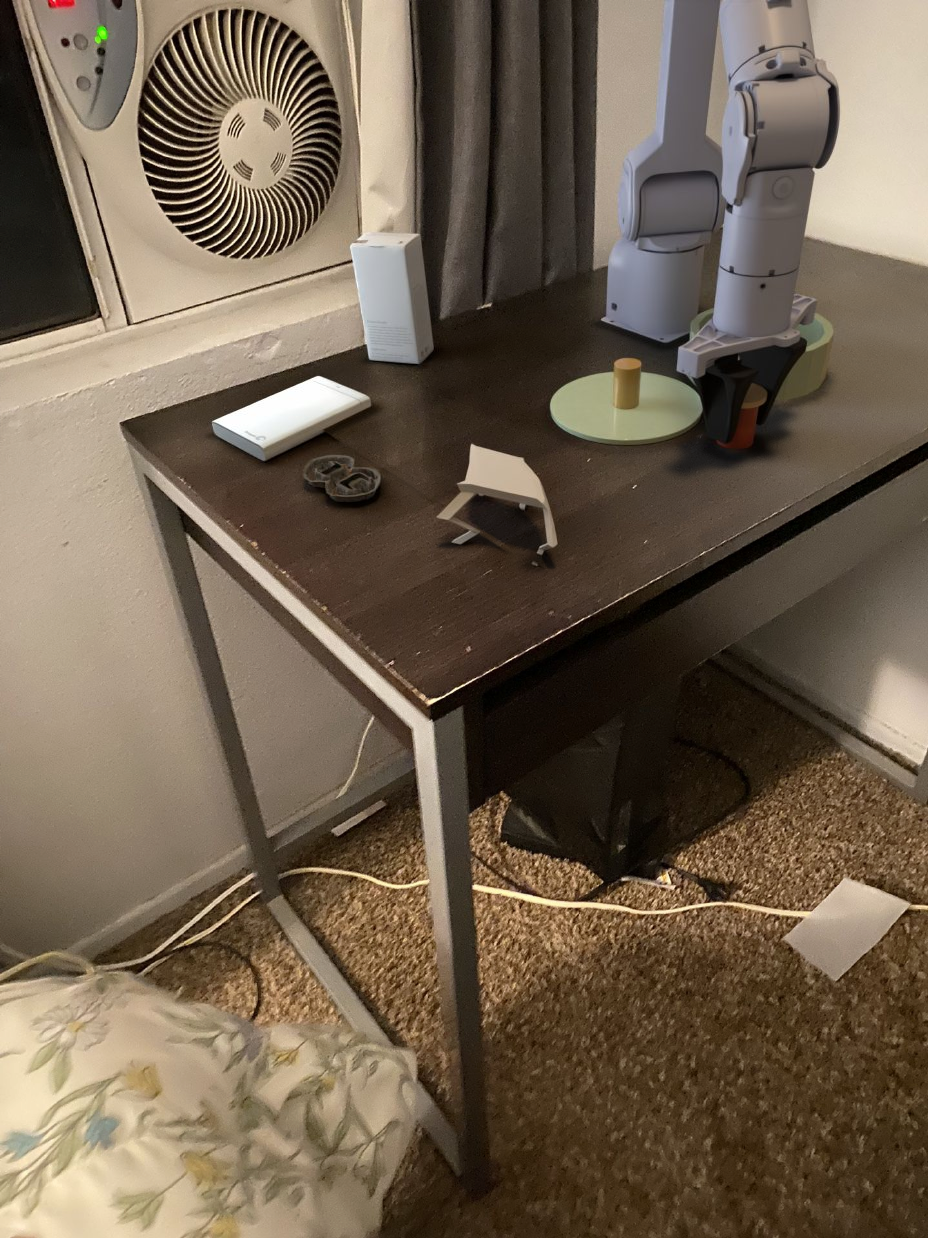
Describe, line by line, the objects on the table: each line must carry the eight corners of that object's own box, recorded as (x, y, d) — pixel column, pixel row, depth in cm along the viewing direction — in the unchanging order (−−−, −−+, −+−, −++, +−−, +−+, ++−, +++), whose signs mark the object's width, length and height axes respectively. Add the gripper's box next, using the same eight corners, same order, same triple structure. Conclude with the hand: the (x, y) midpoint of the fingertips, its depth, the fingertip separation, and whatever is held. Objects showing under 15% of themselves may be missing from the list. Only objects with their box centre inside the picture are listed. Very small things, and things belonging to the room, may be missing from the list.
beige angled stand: (412, 530, 70) (405, 475, 67) (486, 486, 74) (483, 432, 71) (529, 592, 63) (528, 533, 60) (603, 539, 67) (606, 481, 64)
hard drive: (262, 446, 78) (370, 395, 85) (210, 419, 83) (316, 372, 90) (266, 463, 80) (372, 411, 86) (214, 435, 84) (319, 388, 91)
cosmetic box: (435, 349, 96) (424, 231, 88) (419, 367, 93) (407, 245, 85) (382, 345, 98) (367, 228, 90) (365, 362, 95) (348, 242, 87)
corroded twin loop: (336, 457, 79) (335, 447, 78) (396, 488, 74) (395, 477, 74) (290, 480, 77) (288, 470, 76) (349, 514, 72) (347, 503, 71)
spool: (699, 446, 77) (705, 392, 74) (729, 430, 79) (737, 376, 76) (738, 463, 74) (746, 407, 71) (768, 446, 76) (777, 391, 73)
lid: (519, 415, 83) (518, 365, 80) (621, 369, 90) (624, 320, 86) (629, 468, 75) (632, 414, 72) (733, 413, 81) (740, 361, 78)
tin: (658, 378, 87) (661, 329, 84) (741, 339, 93) (748, 291, 90) (767, 421, 80) (775, 368, 76) (851, 375, 85) (862, 324, 82)
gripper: (741, 304, 61) (718, 478, 70) (863, 250, 68) (828, 415, 76) (661, 280, 66) (648, 447, 74) (783, 232, 72) (759, 390, 81)
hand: (735, 429), depth 76 cm, fingers closed on spool, 4 cm apart
